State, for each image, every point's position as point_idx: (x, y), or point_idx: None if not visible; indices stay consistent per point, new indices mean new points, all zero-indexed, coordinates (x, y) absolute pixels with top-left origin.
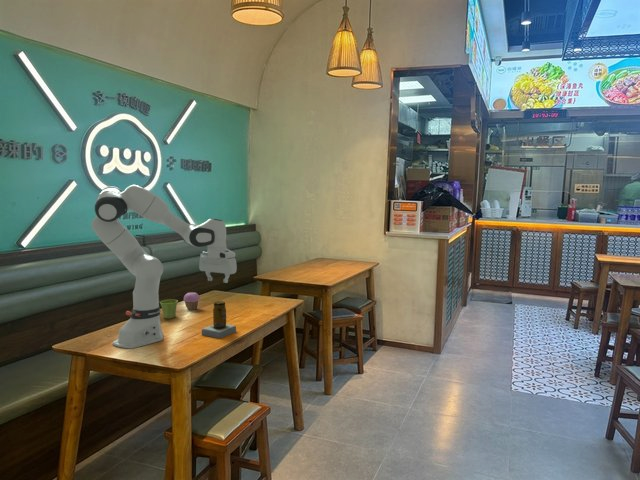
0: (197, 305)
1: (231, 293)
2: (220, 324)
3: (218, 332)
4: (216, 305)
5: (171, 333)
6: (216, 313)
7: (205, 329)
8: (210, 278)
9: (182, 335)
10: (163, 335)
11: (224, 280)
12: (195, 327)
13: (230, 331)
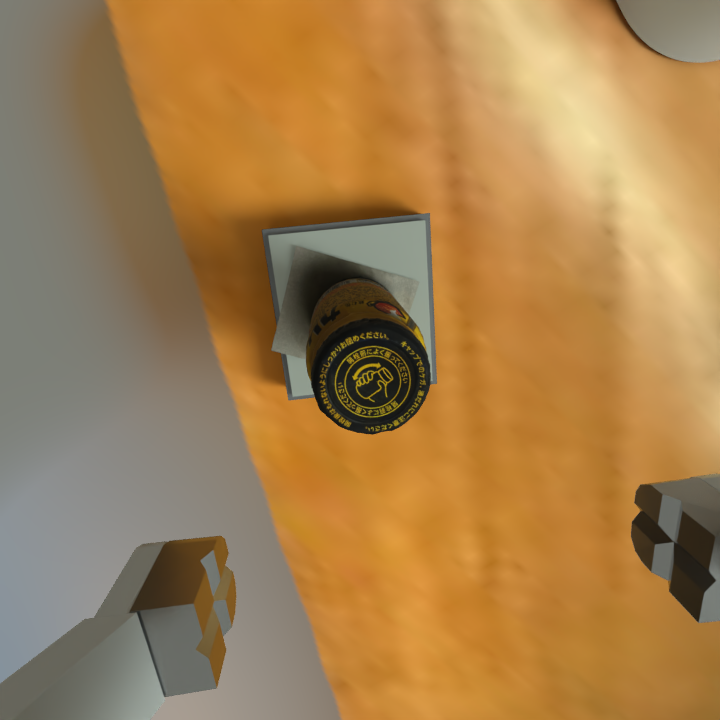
0: None
1: None
2: (320, 299)
3: (278, 233)
4: (356, 319)
5: (622, 115)
6: (347, 297)
7: (400, 222)
8: (685, 531)
9: (525, 128)
10: (631, 22)
11: (154, 579)
12: (566, 303)
13: None
